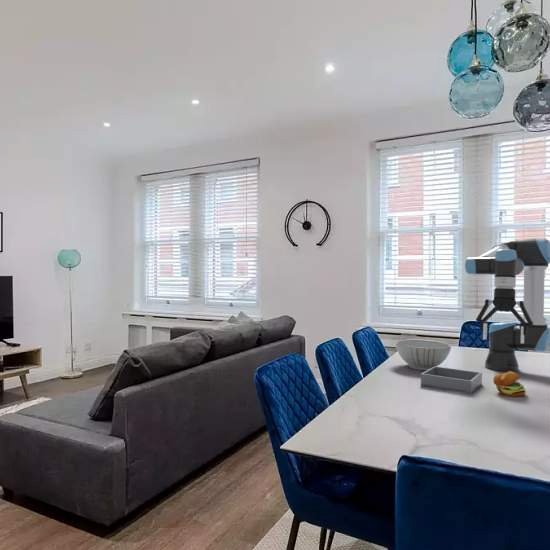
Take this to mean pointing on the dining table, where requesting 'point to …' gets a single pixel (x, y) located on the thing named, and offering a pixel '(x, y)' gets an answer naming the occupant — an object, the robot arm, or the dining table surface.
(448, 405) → the dining table surface
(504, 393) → the cheeseburger
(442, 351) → the decorative bowl
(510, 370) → the robot arm
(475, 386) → the bin
